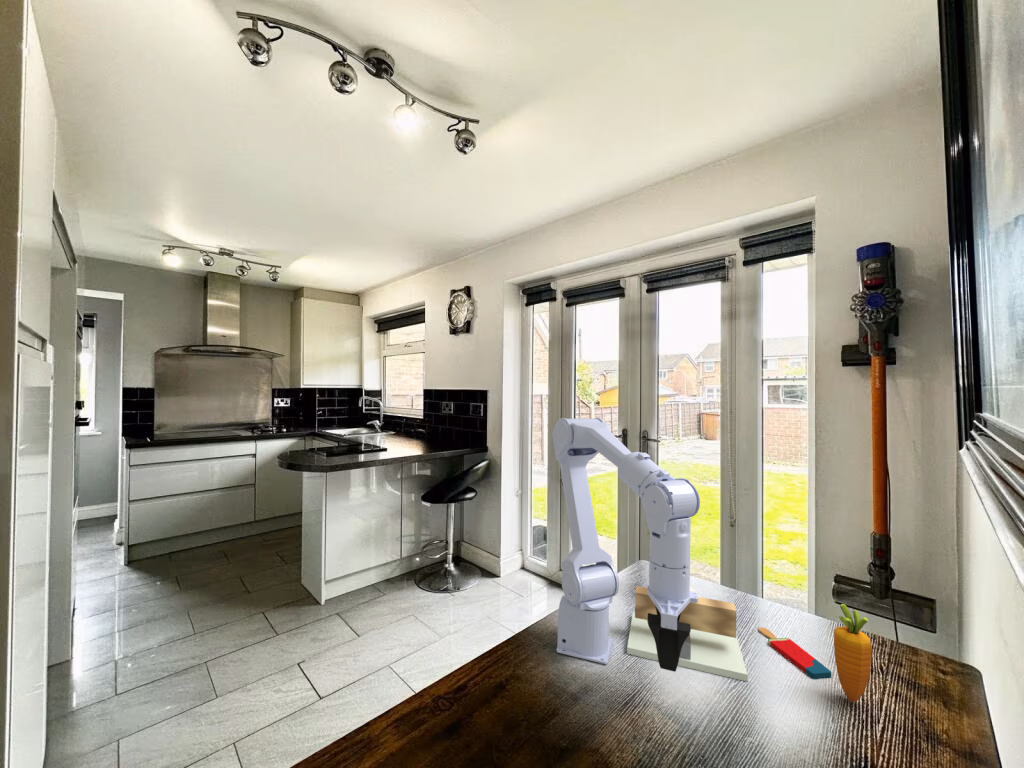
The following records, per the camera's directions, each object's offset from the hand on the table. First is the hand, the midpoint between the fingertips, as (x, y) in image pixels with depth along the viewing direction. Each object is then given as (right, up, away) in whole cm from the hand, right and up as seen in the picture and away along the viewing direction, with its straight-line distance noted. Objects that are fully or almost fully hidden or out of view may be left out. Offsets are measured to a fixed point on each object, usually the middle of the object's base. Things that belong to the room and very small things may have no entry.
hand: (667, 652), depth 62 cm
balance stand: (+10, -11, +19) cm, 25 cm away
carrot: (+32, -11, +5) cm, 34 cm away
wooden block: (+10, -7, +20) cm, 23 cm away
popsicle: (+30, -12, +18) cm, 37 cm away
